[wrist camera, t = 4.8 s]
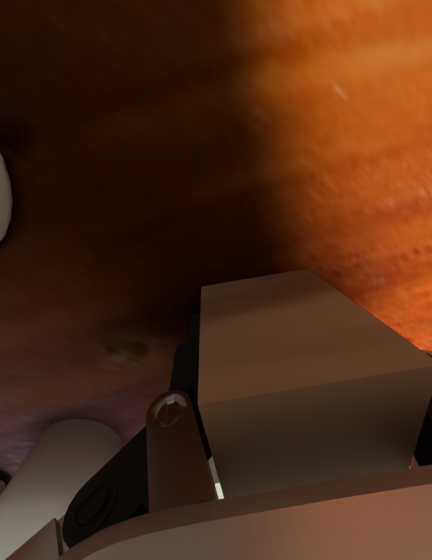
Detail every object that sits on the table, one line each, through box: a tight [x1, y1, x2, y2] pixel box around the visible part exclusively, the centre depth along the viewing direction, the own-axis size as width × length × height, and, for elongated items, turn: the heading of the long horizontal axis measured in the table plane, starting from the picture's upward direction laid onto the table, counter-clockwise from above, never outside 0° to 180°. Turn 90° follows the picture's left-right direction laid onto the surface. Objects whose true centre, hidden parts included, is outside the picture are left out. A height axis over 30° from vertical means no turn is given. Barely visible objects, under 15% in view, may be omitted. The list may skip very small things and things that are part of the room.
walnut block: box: [198, 268, 432, 498], centre depth 8 cm, size 5×5×6 cm
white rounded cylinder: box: [0, 419, 123, 560], centre depth 11 cm, size 5×5×6 cm
